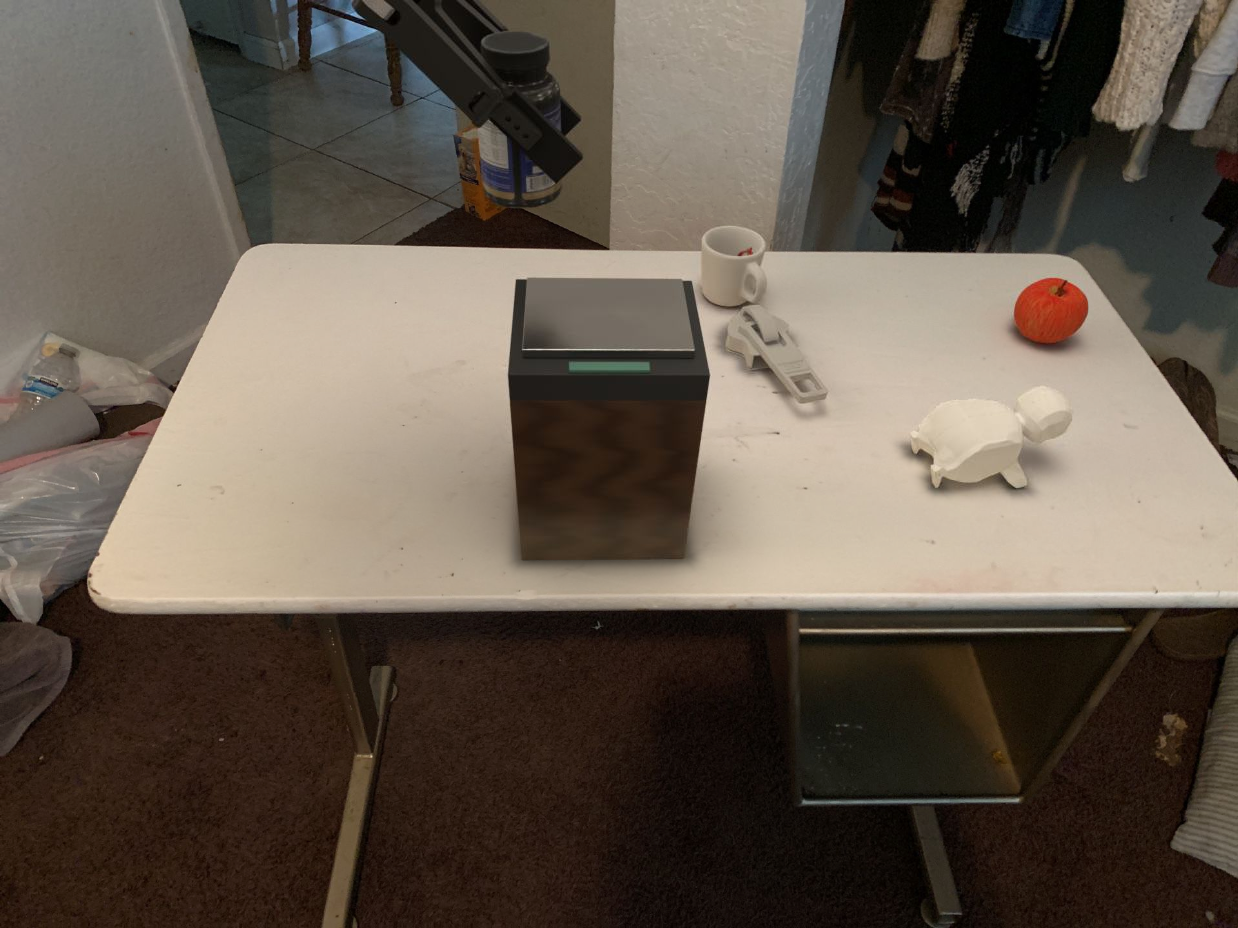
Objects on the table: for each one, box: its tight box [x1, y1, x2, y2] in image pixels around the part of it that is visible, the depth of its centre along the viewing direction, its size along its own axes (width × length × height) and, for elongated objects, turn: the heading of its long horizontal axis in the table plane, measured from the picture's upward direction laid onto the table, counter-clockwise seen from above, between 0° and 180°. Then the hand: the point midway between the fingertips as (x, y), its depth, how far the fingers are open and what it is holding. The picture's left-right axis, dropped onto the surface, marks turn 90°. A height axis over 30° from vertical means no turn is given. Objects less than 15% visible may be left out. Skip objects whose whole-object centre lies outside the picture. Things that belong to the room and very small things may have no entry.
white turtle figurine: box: [909, 385, 1074, 489], centre depth 85 cm, size 9×8×15 cm
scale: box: [507, 277, 711, 402], centre depth 67 cm, size 15×13×3 cm
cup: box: [700, 225, 768, 307], centre depth 105 cm, size 11×8×8 cm
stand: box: [509, 400, 707, 561], centre depth 75 cm, size 15×13×19 cm
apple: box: [1013, 277, 1089, 344], centre depth 102 cm, size 8×8×8 cm
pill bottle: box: [477, 30, 563, 209], centre depth 61 cm, size 6×6×11 cm
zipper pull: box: [724, 303, 829, 405], centre depth 97 cm, size 8×18×4 cm, turn 18°
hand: (568, 148), depth 62 cm, fingers closed on pill bottle, 6 cm apart
